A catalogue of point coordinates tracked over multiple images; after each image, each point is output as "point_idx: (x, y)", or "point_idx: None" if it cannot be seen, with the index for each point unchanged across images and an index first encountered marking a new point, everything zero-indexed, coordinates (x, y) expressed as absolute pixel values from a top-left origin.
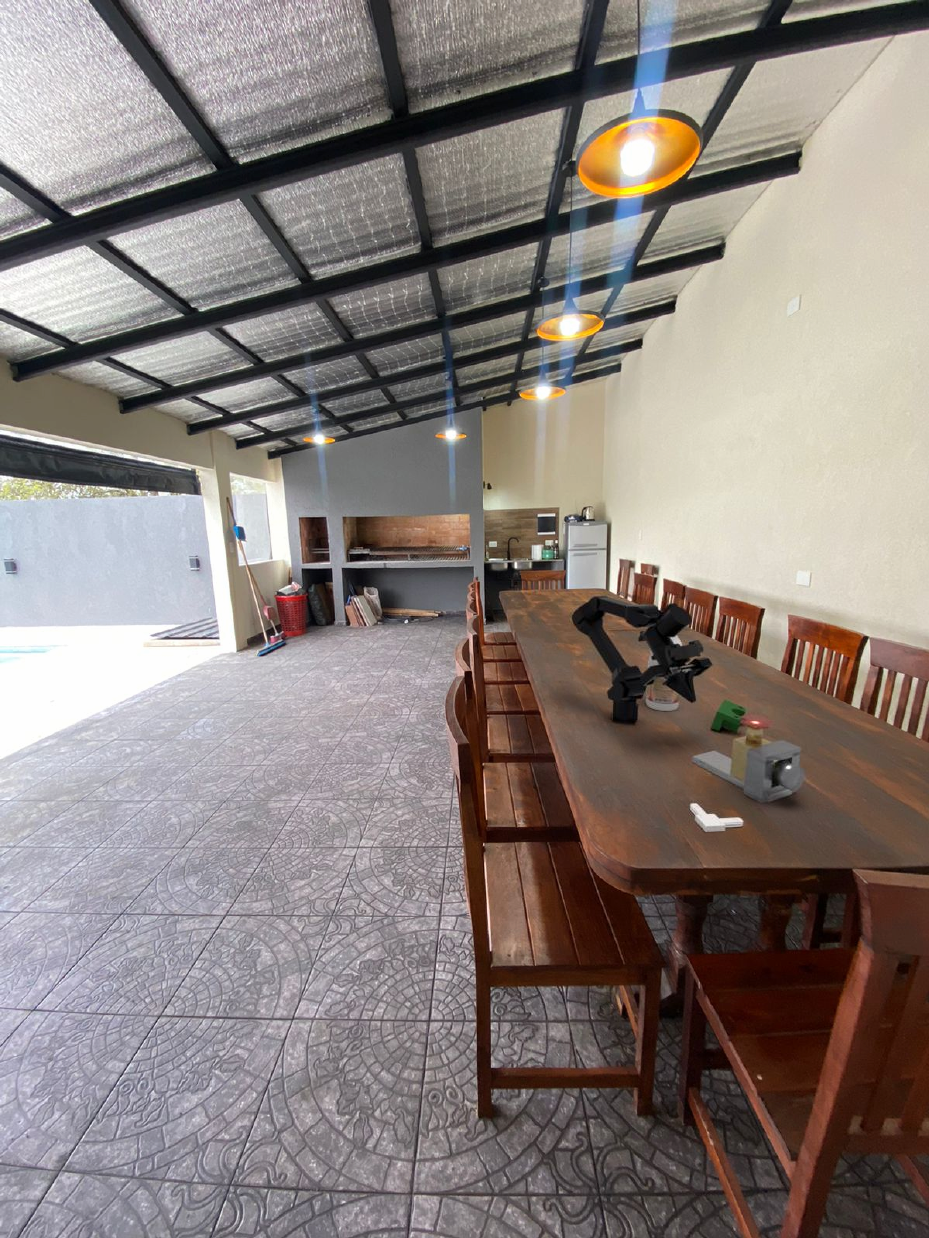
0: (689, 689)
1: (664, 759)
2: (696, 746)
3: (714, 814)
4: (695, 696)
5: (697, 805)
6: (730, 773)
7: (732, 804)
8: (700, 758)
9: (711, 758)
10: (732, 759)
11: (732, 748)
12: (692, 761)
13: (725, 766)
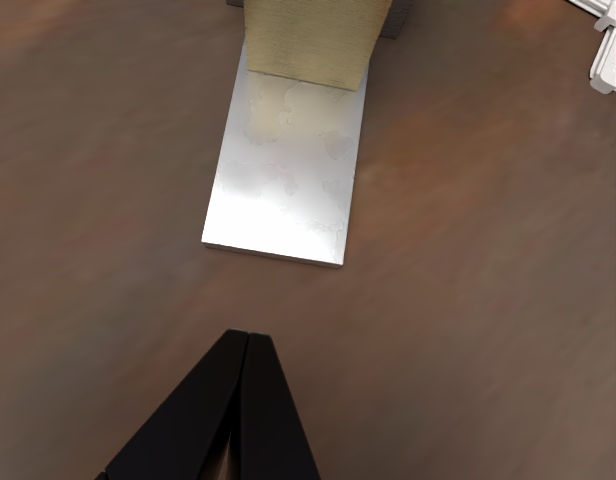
0: (249, 458)
1: (417, 354)
2: (166, 359)
3: (610, 13)
4: (207, 354)
5: (607, 69)
6: (357, 88)
7: (482, 31)
8: (333, 230)
9: (293, 202)
10: (372, 46)
11: (388, 10)
12: (338, 267)
13: (311, 132)
